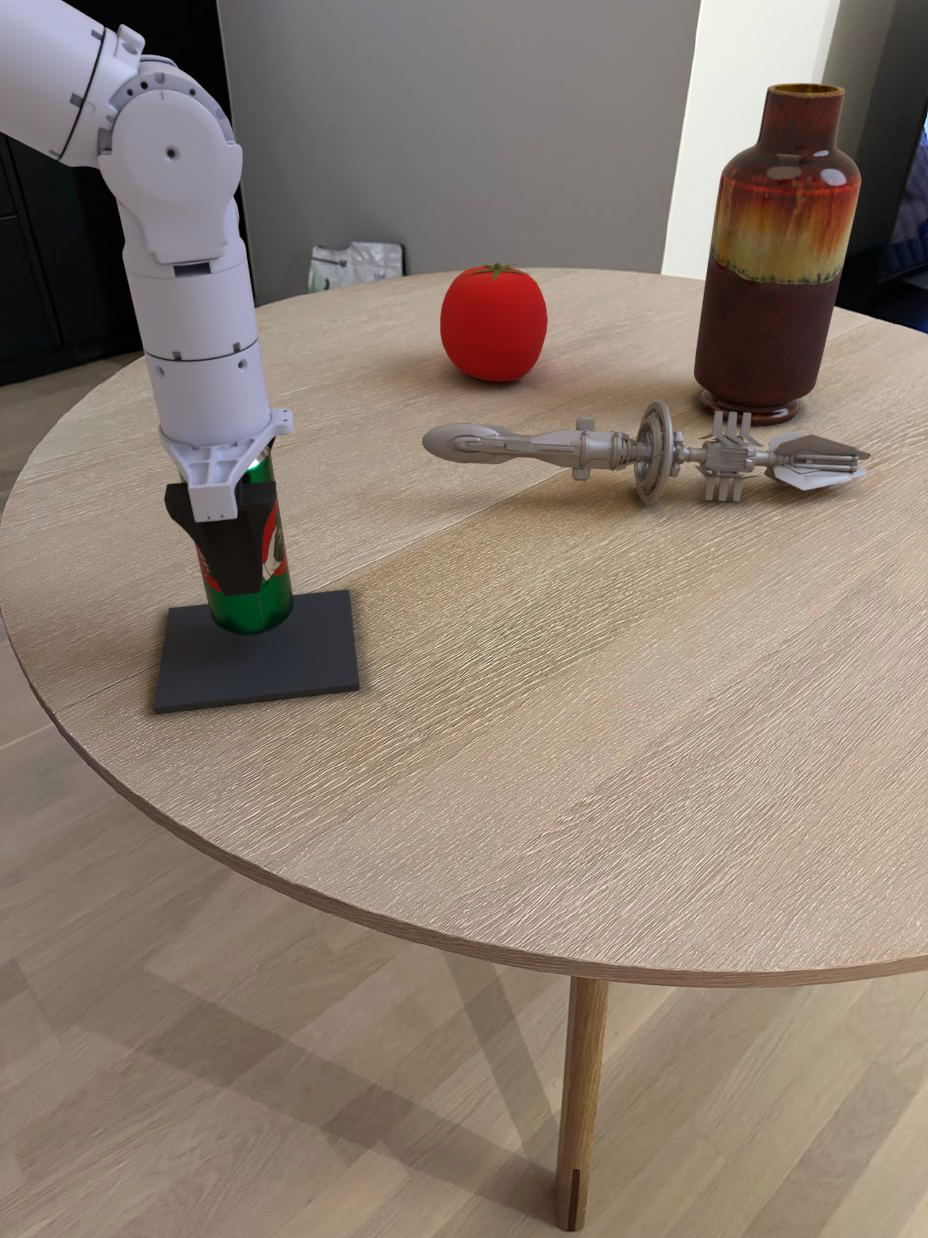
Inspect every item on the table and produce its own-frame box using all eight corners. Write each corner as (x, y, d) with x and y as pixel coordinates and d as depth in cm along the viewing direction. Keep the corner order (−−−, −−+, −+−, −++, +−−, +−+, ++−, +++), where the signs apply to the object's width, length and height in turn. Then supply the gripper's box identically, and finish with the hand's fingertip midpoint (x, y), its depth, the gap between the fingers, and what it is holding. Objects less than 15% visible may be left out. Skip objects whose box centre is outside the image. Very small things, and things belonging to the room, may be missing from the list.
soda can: (281, 583, 60) (253, 410, 53) (306, 626, 56) (279, 446, 49) (203, 605, 58) (163, 429, 51) (224, 650, 55) (183, 467, 47)
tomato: (488, 404, 88) (488, 289, 82) (422, 372, 95) (417, 263, 88) (568, 376, 93) (574, 266, 87) (500, 347, 100) (501, 242, 94)
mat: (155, 714, 54) (153, 707, 54) (170, 613, 62) (168, 607, 62) (359, 689, 56) (359, 683, 55) (349, 594, 64) (348, 588, 63)
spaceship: (421, 385, 72) (427, 386, 65) (848, 410, 76) (901, 414, 68) (417, 488, 74) (422, 500, 66) (833, 507, 78) (883, 521, 70)
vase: (756, 374, 93) (811, 74, 77) (836, 415, 85) (915, 91, 69) (665, 395, 89) (703, 84, 74) (739, 440, 81) (799, 103, 66)
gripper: (282, 391, 42) (315, 630, 50) (280, 290, 53) (308, 498, 61) (120, 404, 41) (181, 645, 49) (154, 298, 52) (199, 508, 60)
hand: (243, 564), depth 55 cm, fingers closed on soda can, 5 cm apart
